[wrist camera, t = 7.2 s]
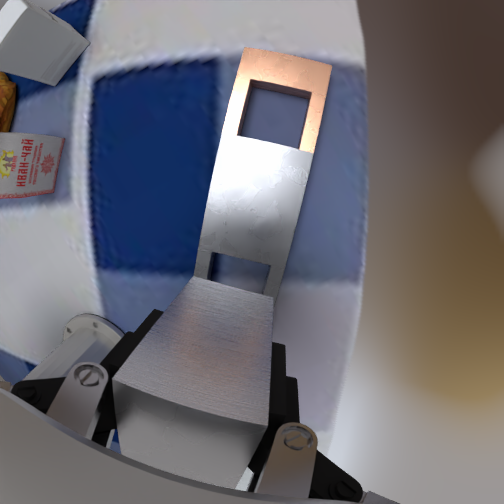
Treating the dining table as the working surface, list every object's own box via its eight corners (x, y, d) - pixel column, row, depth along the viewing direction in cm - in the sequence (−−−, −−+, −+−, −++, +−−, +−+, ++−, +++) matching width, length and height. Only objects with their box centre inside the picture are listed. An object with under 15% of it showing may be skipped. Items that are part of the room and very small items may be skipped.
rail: (263, 335, 30) (262, 347, 28) (191, 318, 30) (185, 329, 28) (327, 74, 23) (331, 65, 21) (247, 57, 23) (244, 47, 21)
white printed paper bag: (36, 186, 28) (-21, 195, 18) (46, 134, 26) (-11, 131, 16) (53, 192, 28) (-6, 203, 18) (65, 138, 26) (5, 133, 17)
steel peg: (253, 361, 15) (234, 488, 7) (182, 342, 15) (121, 454, 7) (273, 297, 14) (267, 426, 6) (193, 276, 14) (112, 378, 6)
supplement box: (92, 42, 23) (28, 6, 11) (55, 88, 24) (-16, 70, 12) (71, 23, 22) (14, -9, 10) (37, 64, 23) (-25, 45, 11)
